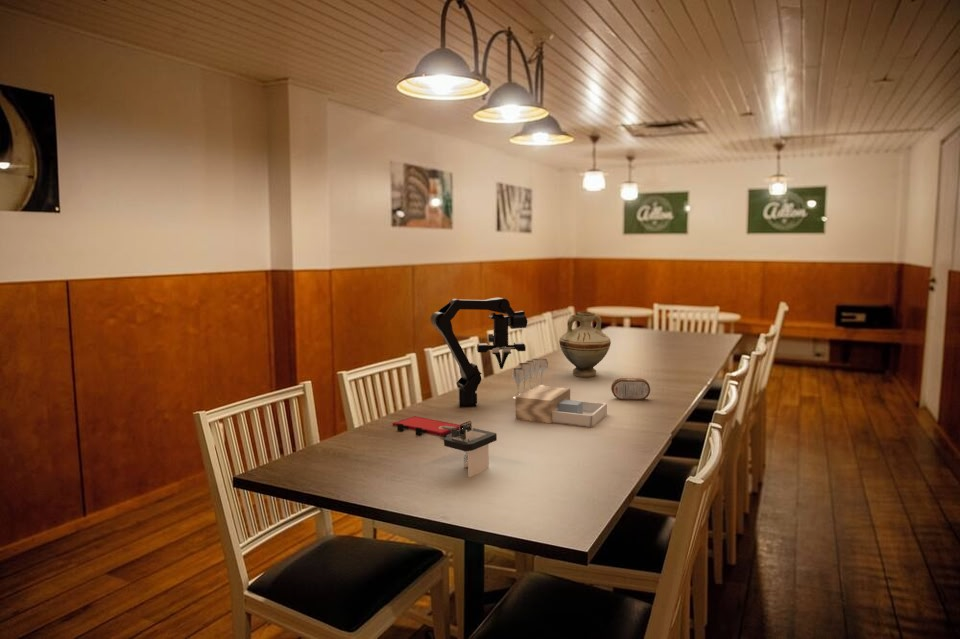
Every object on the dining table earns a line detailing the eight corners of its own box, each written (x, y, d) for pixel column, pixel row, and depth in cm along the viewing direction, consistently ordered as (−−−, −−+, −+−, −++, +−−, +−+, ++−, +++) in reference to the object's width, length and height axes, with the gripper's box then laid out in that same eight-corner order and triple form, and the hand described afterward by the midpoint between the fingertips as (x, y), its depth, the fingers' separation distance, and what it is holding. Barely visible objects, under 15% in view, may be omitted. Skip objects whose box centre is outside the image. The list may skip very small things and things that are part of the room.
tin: (649, 398, 247) (649, 377, 246) (650, 400, 244) (651, 379, 243) (611, 398, 249) (611, 377, 248) (611, 400, 246) (612, 379, 245)
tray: (550, 422, 216) (550, 411, 216) (567, 409, 232) (567, 399, 232) (591, 427, 209) (591, 416, 209) (606, 414, 225) (606, 403, 225)
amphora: (617, 373, 296) (618, 310, 293) (598, 382, 276) (599, 315, 273) (571, 368, 309) (571, 308, 305) (550, 377, 289) (550, 313, 285)
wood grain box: (515, 418, 221) (515, 396, 220) (536, 405, 239) (536, 385, 238) (550, 423, 215) (550, 400, 214) (570, 409, 233) (570, 388, 232)
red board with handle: (451, 444, 195) (480, 433, 206) (451, 435, 194) (480, 424, 206) (384, 429, 213) (415, 420, 225) (384, 421, 213) (414, 412, 224)
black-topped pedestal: (464, 449, 191) (463, 406, 189) (536, 466, 174) (536, 420, 173) (398, 476, 169) (397, 428, 167) (473, 499, 153) (472, 446, 151)
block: (558, 403, 220) (577, 405, 217) (564, 399, 226) (582, 401, 222) (558, 416, 221) (577, 419, 218) (564, 412, 226) (582, 414, 223)
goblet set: (521, 400, 248) (521, 367, 247) (509, 398, 251) (508, 366, 250) (550, 385, 272) (550, 356, 271) (538, 384, 275) (538, 355, 274)
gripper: (521, 326, 252) (521, 364, 254) (475, 327, 250) (475, 365, 252) (525, 330, 241) (526, 369, 243) (477, 331, 239) (478, 371, 241)
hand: (501, 368), depth 245 cm, fingers closed
